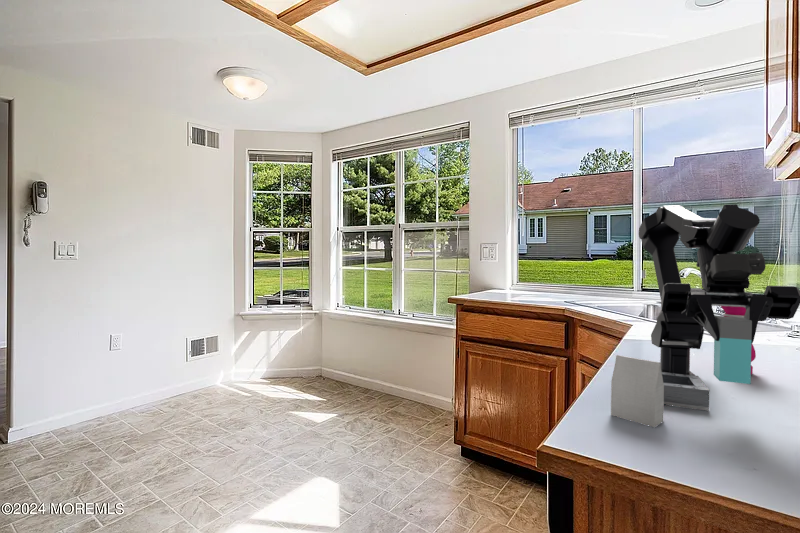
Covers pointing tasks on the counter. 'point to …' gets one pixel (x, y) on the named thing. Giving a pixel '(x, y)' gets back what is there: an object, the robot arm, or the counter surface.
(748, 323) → the plug
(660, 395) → the tea packet
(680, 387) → the block
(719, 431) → the counter surface
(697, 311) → the robot arm
